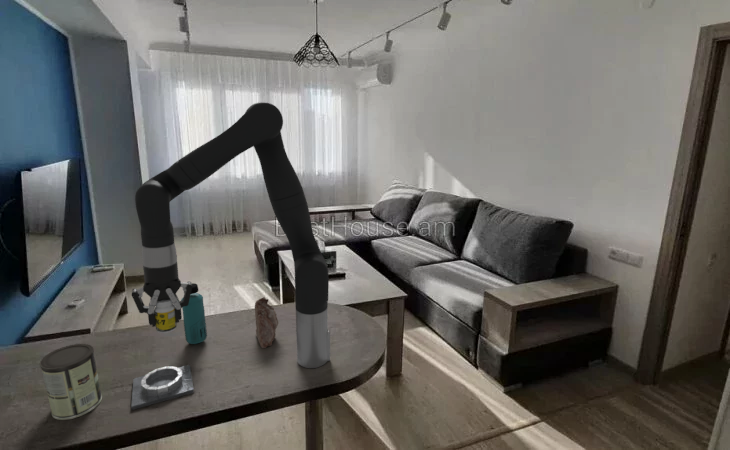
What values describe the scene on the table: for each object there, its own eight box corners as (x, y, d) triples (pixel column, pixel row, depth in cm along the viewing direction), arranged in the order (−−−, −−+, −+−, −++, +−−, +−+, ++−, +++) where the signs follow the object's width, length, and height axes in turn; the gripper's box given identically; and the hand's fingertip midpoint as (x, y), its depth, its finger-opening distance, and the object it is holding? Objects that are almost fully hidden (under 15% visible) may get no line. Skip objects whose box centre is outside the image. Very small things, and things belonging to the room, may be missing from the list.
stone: (249, 295, 124) (252, 311, 116) (273, 291, 127) (277, 305, 118) (256, 333, 129) (259, 351, 121) (278, 328, 132) (282, 345, 123)
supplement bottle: (151, 331, 98) (148, 301, 96) (167, 323, 102) (164, 294, 100) (166, 335, 97) (163, 305, 94) (180, 326, 101) (178, 297, 99)
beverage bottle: (202, 348, 120) (196, 289, 115) (181, 348, 120) (174, 289, 115) (211, 337, 126) (206, 281, 121) (191, 336, 126) (185, 280, 121)
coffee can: (70, 391, 100) (61, 343, 96) (111, 391, 100) (102, 343, 97) (39, 420, 90) (27, 368, 86) (84, 420, 90) (74, 368, 87)
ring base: (190, 367, 111) (189, 358, 110) (193, 392, 100) (192, 382, 100) (133, 381, 104) (132, 372, 103) (131, 410, 94) (130, 399, 93)
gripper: (125, 270, 88) (133, 336, 93) (192, 262, 95) (197, 324, 99) (127, 259, 95) (134, 322, 99) (190, 253, 101) (194, 311, 106)
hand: (166, 322), depth 99 cm, fingers closed on supplement bottle, 4 cm apart
